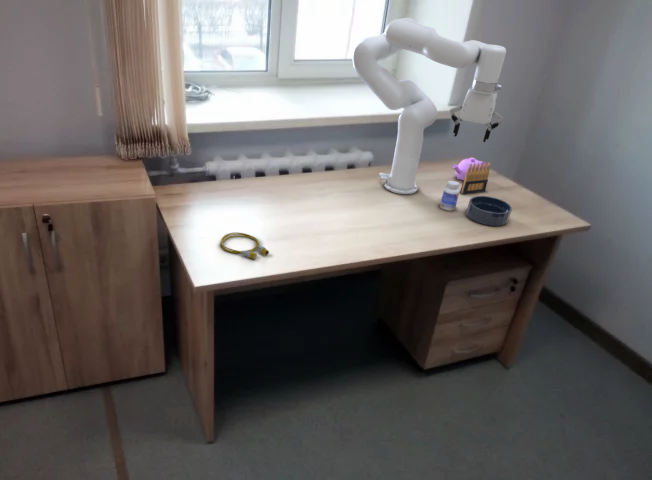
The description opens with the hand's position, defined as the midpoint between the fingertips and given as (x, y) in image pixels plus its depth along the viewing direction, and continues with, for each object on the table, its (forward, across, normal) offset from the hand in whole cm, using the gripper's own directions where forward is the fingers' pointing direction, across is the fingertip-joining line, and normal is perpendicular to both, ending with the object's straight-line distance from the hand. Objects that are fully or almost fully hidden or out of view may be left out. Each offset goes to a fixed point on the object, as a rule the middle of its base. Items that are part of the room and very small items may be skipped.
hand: (470, 138), depth 180 cm
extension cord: (+25, +52, +67) cm, 89 cm away
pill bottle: (+25, +1, +4) cm, 25 cm away
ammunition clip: (+25, -5, -16) cm, 30 cm away
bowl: (+25, -13, +5) cm, 28 cm away
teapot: (+25, -1, -27) cm, 37 cm away
